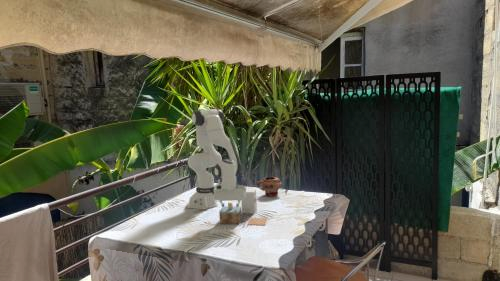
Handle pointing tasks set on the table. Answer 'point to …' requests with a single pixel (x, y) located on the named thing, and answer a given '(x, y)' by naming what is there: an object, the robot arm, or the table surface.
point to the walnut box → (230, 218)
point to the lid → (230, 209)
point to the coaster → (257, 221)
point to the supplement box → (249, 202)
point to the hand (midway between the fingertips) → (230, 206)
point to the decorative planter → (270, 186)
